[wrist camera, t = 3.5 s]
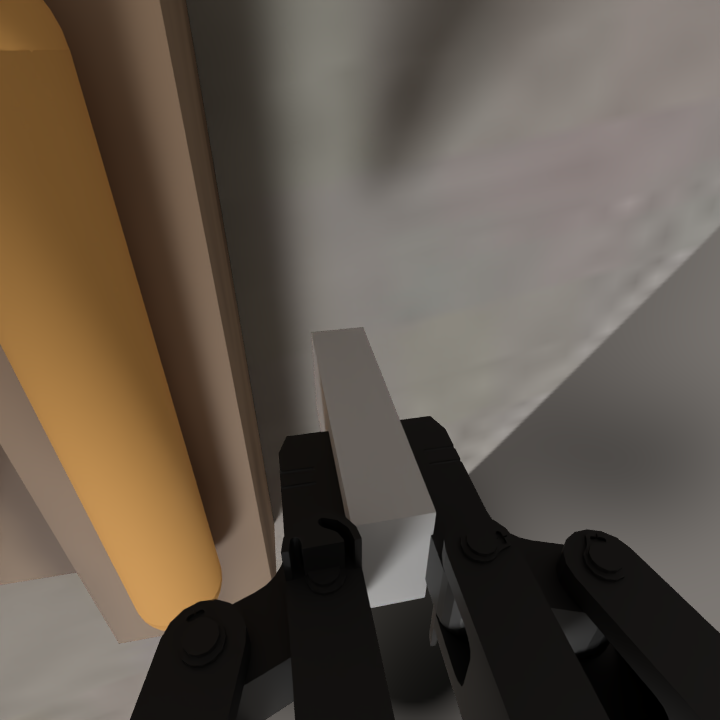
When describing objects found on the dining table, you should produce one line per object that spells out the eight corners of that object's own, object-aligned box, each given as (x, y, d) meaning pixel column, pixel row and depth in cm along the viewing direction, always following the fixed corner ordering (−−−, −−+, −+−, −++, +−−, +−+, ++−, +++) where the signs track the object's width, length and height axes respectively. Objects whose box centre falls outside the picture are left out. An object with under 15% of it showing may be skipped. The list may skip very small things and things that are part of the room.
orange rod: (152, 575, 19) (137, 655, 16) (-126, -55, 8) (-289, -97, 6) (229, 562, 19) (226, 638, 17) (63, -51, 9) (-13, -88, 6)
